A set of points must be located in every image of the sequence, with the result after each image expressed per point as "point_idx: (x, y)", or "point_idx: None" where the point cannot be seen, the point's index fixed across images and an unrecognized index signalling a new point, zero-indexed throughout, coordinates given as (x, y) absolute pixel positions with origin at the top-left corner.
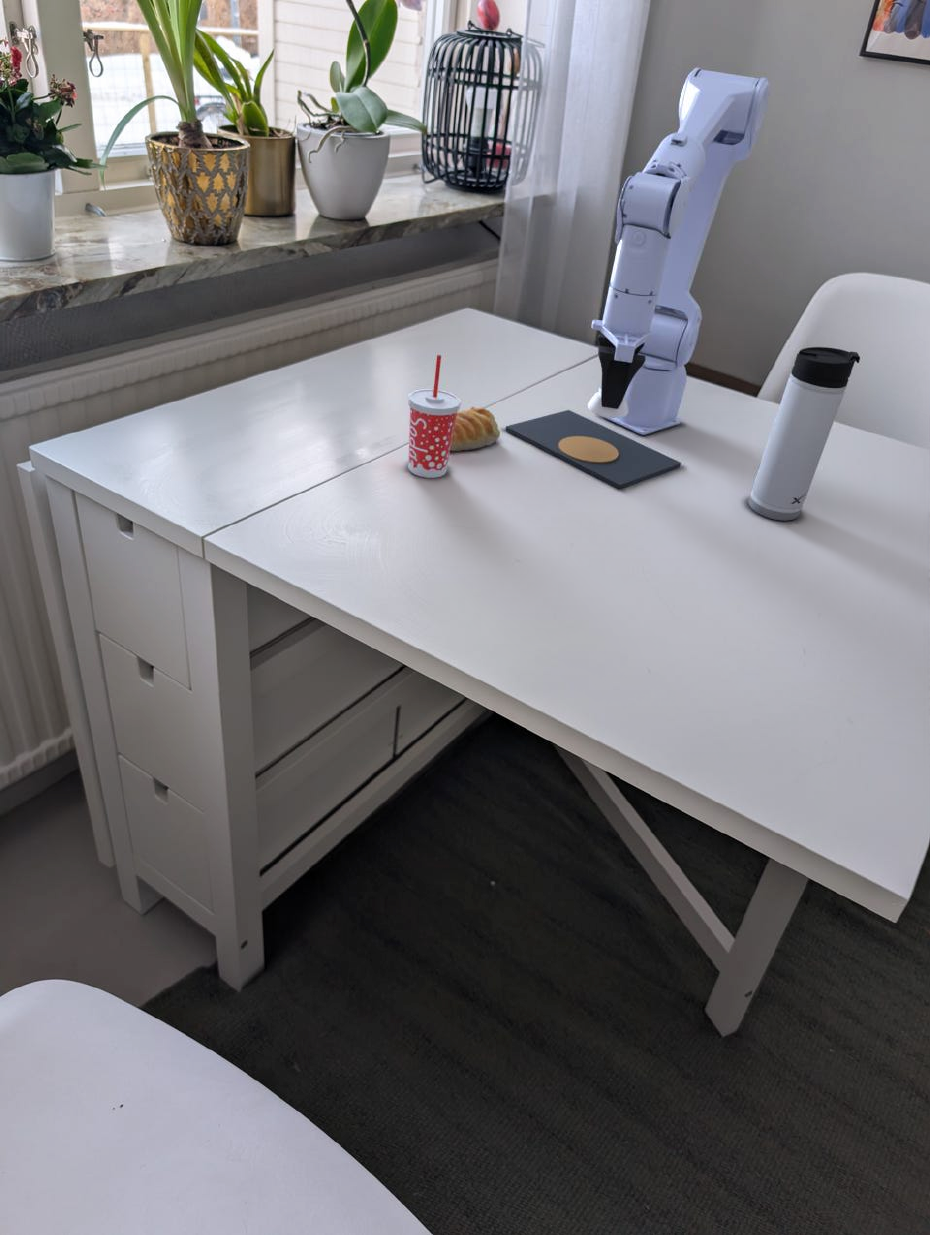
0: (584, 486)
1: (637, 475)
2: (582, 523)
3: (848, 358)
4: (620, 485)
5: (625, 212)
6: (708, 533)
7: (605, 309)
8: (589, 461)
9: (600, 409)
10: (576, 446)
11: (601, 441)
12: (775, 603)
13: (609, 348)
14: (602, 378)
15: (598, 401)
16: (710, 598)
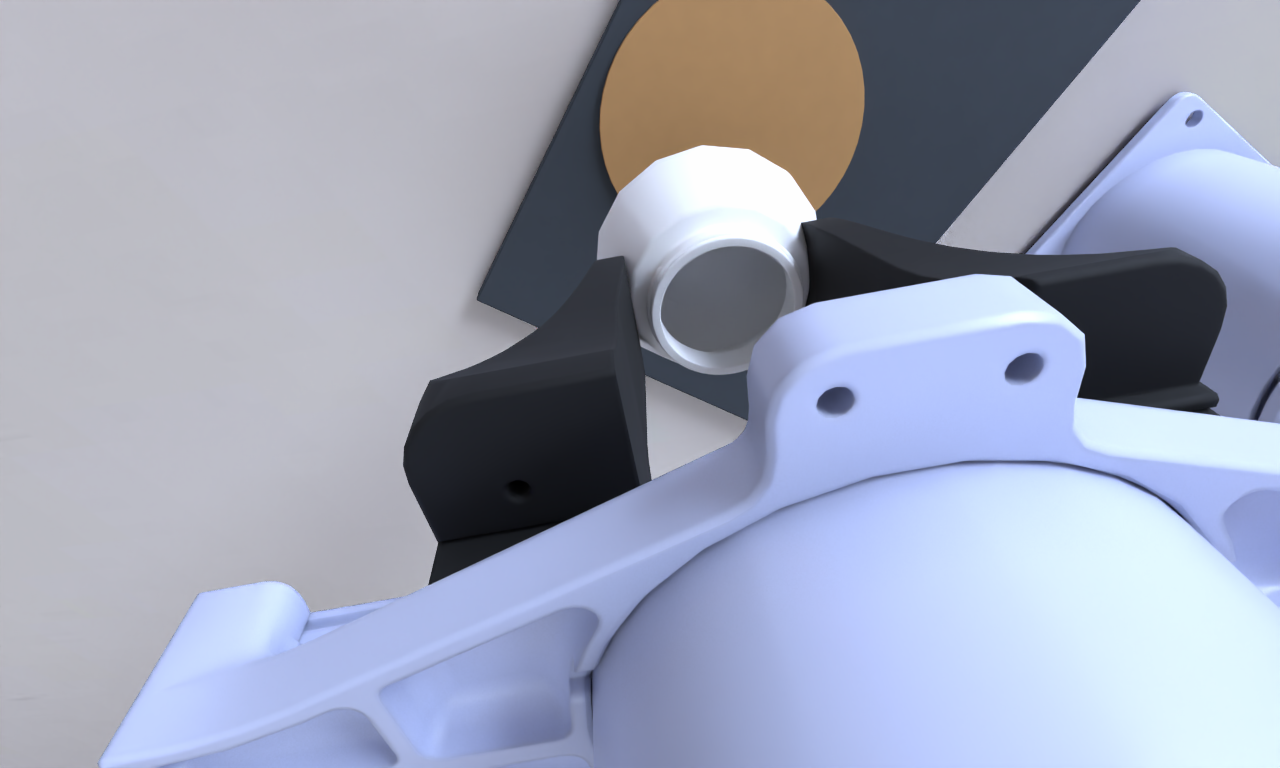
0: (414, 174)
1: None
2: (109, 231)
3: None
4: (480, 300)
5: None
6: (375, 531)
7: (969, 744)
8: (602, 157)
9: (606, 246)
10: (729, 68)
11: (835, 164)
12: (159, 655)
13: (590, 475)
14: (542, 325)
15: (638, 234)
16: (42, 571)
